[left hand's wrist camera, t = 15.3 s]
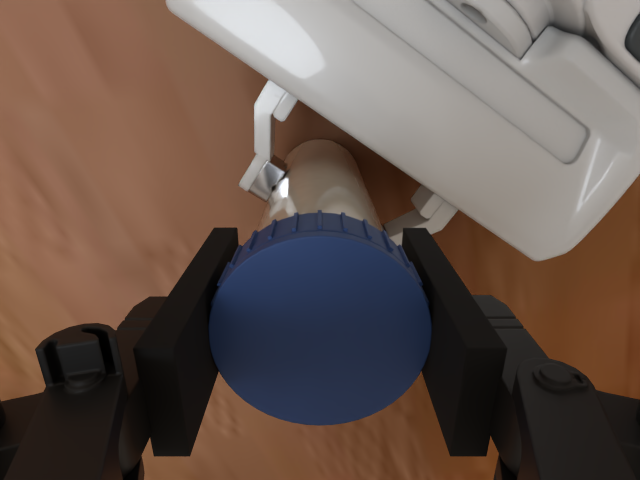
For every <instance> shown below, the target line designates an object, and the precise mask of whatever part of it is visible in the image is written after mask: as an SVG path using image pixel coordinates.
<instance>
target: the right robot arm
mask: <svg viewBox="0 0 640 480" xmlns="http://www.w3.org/2000/svg"><path fill="white" fill-rule="evenodd" d="M166 5H167V7H168V9H169V10H170V11H171V12H172V13H173V14H174V15H176V16H177V17H179V18H180V19H182V20H183V21H184V22H186V23H187V24H189V25H190V26H192V27H193V28H195V29H196V30H198V31H199V32H201V33H202V34H203V35H205V36H206V37H208V38H209V39H211V40H212V41H214V42H215V43H217V44H218V45H219V46H221V47H222V48H224V49H225V50H227V51H228V52H230V53H231V54H233V55H234V56H235V57H237V58H238V59H240V60H241V61H243V62H244V63H246V64H247V65H249V66H250V67H252V68H253V69H254V70H256V71H257V72H259V73H260V74H262V75H263V76H265V77H266V78H268V79H269V80H268V82H267V83H266V85H265V87H264V88H263V90H262V92H261V94H260V95H259V97H258V99H257V101H256V102H255V104H254V152H255V153H257V154H256V156H255V158H254V159H253V161H252V163H251V164H250V166H249V168H248V169H247V171H246V173H245V174H244V176H243V177H242V179H241V181H240V183H239V185H238V186H240V187H241V188H242V189H244V190H245V191H248V192H249V193H251V194H253V195H254V196H256V197H258V198H259V199H261V200H263V201H264V202H267V200H268V199H269V197H270V195H271V193H272V191H273V189H274V186H276V185H277V184H278V183H279V182H280V180H281V179H282V177H283V175H284V174H285V172H286V168H287V166H288V164H287V163H285V162H284V161H282V160H281V159H279V158H278V157H276V156H275V155H274V142H275V118H276V119H278V120H279V121H281V122H282V121H285V120H286V118H287V117H288V116H289V114H290V112H291V111H292V109H293V108H294V106H295V104H296V103H297V101H298V100H300V101H301V102H303V103H304V104H305V105H307V106H308V107H310V108H311V109H313V110H314V111H316V112H317V113H319V114H320V115H322V116H323V117H324V118H326V119H327V120H329V121H330V122H332V123H333V124H335V125H336V126H338V127H339V128H340V129H342V130H343V131H345V132H346V133H348V134H349V135H351V136H352V137H354V138H355V139H356V140H358V141H359V142H361V143H362V144H364V145H365V146H367V147H368V148H370V149H371V150H373V151H374V152H375V153H377V154H378V155H380V156H381V157H383V158H384V159H386V160H387V161H389V162H390V163H391V164H393V165H394V166H396V167H397V168H399V169H400V170H402V171H403V172H405V173H406V174H408V175H409V176H410V177H412V178H413V179H415V180H416V181H418V182H419V183H421V186H420V187H419V188H418V190H417V191H416V192H415V194H414V195H413V196H412V198H411V202H412V203H413V205H414V206H415V208H416V209H414V210H412V211H410V212H408V213H406V214H404V215H402V216H400V217H398V218H396V219H394V220H391V221H389V222H387V223H385V224H384V225H382V224H381V225H382V228H383V230H385V231H386V232H387V234H388V237H389V238H390V239H391V240H392V241H393V242H394V243H395V244H396V245H397V246H398V245H399V244H400V245H401V246H402V235H403V228H426V229H427V230H428V232H429V233H430V234H433V233H435V232H438V231H440V230H442V229H443V228H444V227H445V225H446V224H447V223H448V222H449V221H450V219H451V218H452V217H453V216H454V215H455V213H456V212H457V211H458V210H460V211H461V212H463V213H464V214H466V215H467V216H469V217H470V218H472V219H473V220H475V221H476V222H478V223H479V224H480V225H482V226H483V227H485V228H486V229H488V230H489V231H491V232H492V233H494V234H495V235H496V236H498V237H499V238H501V239H502V240H504V241H505V242H507V243H508V244H510V245H511V246H512V247H514V248H515V249H517V250H518V251H520V252H521V253H523V254H524V255H526V256H527V257H529V258H530V259H532V260H534V261H542V260H546V259H550V258H553V257H556V256H560V255H563V254H565V253H567V252H568V251H570V250H571V249H572V248H574V247H575V246H576V245H577V244H578V243H579V242H580V241H581V240H582V239H583V238H584V237H585V236H586V235H587V234H588V233H589V232H590V231H591V230H592V229H593V228H594V227H595V226H596V225H597V224H598V222H599V221H600V220H601V219H602V218H603V217H604V216H605V215H606V214H607V213H608V211H609V210H610V209H611V208H612V207H613V206H614V205H615V203H616V202H617V201H618V200H619V199H620V198H621V196H622V195H623V194H624V193H625V192H626V190H627V189H628V188H629V187H630V185H631V184H632V183H633V182H634V180H635V179H636V178H637V177H638V175H639V174H640V0H166ZM249 188H250V189H249Z"/></svg>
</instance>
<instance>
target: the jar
mask: <svg viewBox="0 0 640 480" xmlns="http://www.w3.org/2000/svg"><path fill="white" fill-rule="evenodd" d="M284 162H285V163H287V164H288V166H287V168H286V172H285V174H284V175H283V177H282V179H281V180H280V182H279V183H278V184H277V185H276V186H274V189H273V191H272V193H271V195H270V198H269V200H268V203H267V205H266V208H265V210H264V213H263V215H262V218H261V220H260V223H259V225H258V228H257V230H256V231H257V232H259V231H260V230H262V229H263V228H265V227H267V226H268V225H270V224H271V223H272V220H274V219H276V220H277V221H279V220H281V219H284V218H288V217H291V216H294V213H296V212H298V213H299V215H300V214H305V213H318V210H322V213H335V214H340V215H341V212H344V213H345V214H346V216H350V217H353V218H356V219H359V220H362V221H363V219H366V220H367V221H368V224H370V225H372V226H374V227H375V228H377V229H378V230H380V231H381V232H382V231H383V228H382V225H381V223H380V220H379V218H378V215H377V213H376V210H375V208H374V205H373V203H372V200H371V198H370V195H369V193H368V191H367V188H366V186H365V183H364V181H363V178H362V176H361V173H360V171H359V168H358V166H357V163H356V161H355V159H354V158H353V156H352V155H351V153H350V152H349V151H348V150H347V149H346V148H344V147H343V146H341V145H340V144H338V143H336V142H333V141H330V140H325V139H315V140H310V141H307V142H304V143H302V144H300V145H298V146H297V147H295V148H294V149H293V150H292V151H291V152H290V153H289V154H288V156H287V157H286V159H285V161H284Z"/></svg>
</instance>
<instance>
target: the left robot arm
mask: <svg viewBox="0 0 640 480" xmlns="http://www.w3.org/2000/svg"><path fill="white" fill-rule="evenodd" d="M238 246H239V245H238V232H237V228H214V229H213V230H212V232H211V233H210V235H209V236H208V238H207V239H206V241H205V242H204V244H203V245H202V247H201V248H200V250H199V251H198V253H197V254H196V256H195V257H194V259H193V260H192V261H191V263H190V264H189V266H188V267H187V269H186V270H185V272H184V273H183V275H182V276H181V278H180V279H179V281H178V282H177V284H176V285H175V287H174V288H173V290H172V291H171V293H170V294H169V296H168V297H148V298H147V299H145V300H144V301H142V302H140V303H139V304H137V305H136V306H134V307H133V309H132V310H131V311H130V312H129V314H128V315H127V316H126V317H125V321H122V323H121V324H120V325H119V326H118V328H117V330H114V329H113V328H111V327H110V326H109V325H104V324H99V323H92V324H81V325H77V326H73V327H69V328H66V329H64V330H61V331H59V332H56V333H54V334H53V335H51V336H49V337H48V338H46V339H45V340H43V341H42V342H41V343H40V344H39V345H38V347H37V348H36V349H35V351H36V354H37V357H38V361H39V364H40V367H41V371H42V374H43V378H44V381H45V384H46V388H45V390H44V392H42V393H38V394H35V395H30V396H25V397H20V398H16V399H11V400H6V401H1V400H0V480H144V466H143V461H142V456H141V455H142V453H143V451H144V449H145V446H146V444H147V442H148V440H149V438H150V439H151V444H152V449H153V454H154V456H190V455H191V452H192V449H193V446H194V443H195V440H196V437H197V434H198V431H199V428H200V425H201V422H202V419H203V416H204V413H205V410H206V407H207V404H208V401H209V398H210V395H211V392H212V389H213V386H214V384H215V381H216V378H217V375H218V372H219V370H218V368H217V366H216V364H215V362H214V359H213V356H212V353H211V349H210V342H209V333H208V323H209V316H210V311H211V308H212V306H211V301H212V299H213V297H214V295H215V293H216V291H217V289H218V286H217V284H218V282H219V280H220V278H221V276H222V273H223V271H224V269H225V267H226V265H227V263H228V262H230V263H231V261H232V258H233V256H234V254H235V252H236V250H237V248H238ZM402 248H403V250H404V252H405V254H406V256H407V258H408V261H409V262H411V261H412V263H413V265H414V267H415V269H416V271H417V273H418V275H419V277H420V279H421V281H422V283H423V285H422V288H423V290H424V292H425V294H426V296H427V299H428V301H429V306H428V307H429V310H430V314H431V322H432V335H431V344H430V350H429V354H428V357H427V359H426V362H425V365H424V367H423V368H422V370H421V371H422V374H423V377H424V380H425V383H426V386H427V389H428V392H429V395H430V398H431V401H432V404H433V407H434V409H435V412H436V415H437V418H438V421H439V424H440V427H441V430H442V433H443V436H444V439H445V442H446V445H447V448H448V451H449V454H450V456H486V455H487V450H488V445H489V440H490V435H491V437H492V439H493V442H494V444H495V446H496V448H497V450H498V452H499V456H498V461H497V465H496V470H495V475H494V480H640V400H638V399H634V398H629V397H624V396H619V395H615V394H610V393H605V392H601V391H598V390H596V389H595V387H594V385H593V384H592V383H591V381H590V380H589V379H588V377H587V376H585V375H584V374H583V373H581V372H580V371H579V370H577V369H576V368H574V367H572V366H569V365H567V364H565V363H563V362H560V361H556V360H552V359H549V358H548V357H547V356H546V354H545V353H544V352H543V350H542V349H541V348H540V347H539V345H538V344H537V343H536V342H535V340H534V339H533V338H532V337H531V335H530V334H529V333H528V332H527V330H526V329H523V325H522V324H521V323H520V322H519V320H518V319H516V317H515V315H514V314H513V313H512V312H511V310H510V309H509V308H508V307H507V305H505V304H504V303H502V302H501V301H499V300H497V299H496V298H494V297H493V296H491V295H471V294H470V292H469V291H468V289H467V288H466V286H465V285H464V283H463V282H462V280H461V279H460V277H459V276H458V274H457V273H456V271H455V270H454V268H453V267H452V266H451V264H450V263H449V261H448V260H447V258H446V257H445V255H444V254H443V252H442V251H441V249H440V248H439V246H438V245H437V243H436V242H435V240H434V239H433V237H432V236H431V234H430V233H429V232H428V230H427V229H426V228H403V235H402Z"/></svg>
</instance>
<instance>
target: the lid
mask: <svg viewBox="0 0 640 480" xmlns="http://www.w3.org/2000/svg"><path fill="white" fill-rule="evenodd" d="M422 285H423V283H422V281H421V279H420V277H419V275H418V273H417V271H416V269H415V267H414V265H413V263H412V261H411V262H409V261H408V258H407V256H406V254H405V252H404V250H403V248H402V246H401V245H400V244H399V245H398V246H397V245H396V244H395V243H394V242H393V241H392V240H391V239H390V238H389V237H388V234H387V232H386V231H385V230H383V231H382V232H381V231H380V230H378V229H377V228H375V227H374V226H372V225H370V224H368V221H367V220H366V219H363V221H362V220H359V219H356V218H353V217H350V216H346V214H345V213H344V212H341V215H340V214H335V213H322V210H318V213H305V214H300V215H299V213H298V212H296V213H294V216H291V217H288V218H284V219H281V220H279V221H277V220H276V219H274V220H272V223H271V224H270V225H268V226H267V227H265V228H263V229H262V230H260V231H259V232H257V231H256V230H255V231H254V232H253V234H252V236H251V238H250V239H249V240H248V241H247V242H246V243H245V244H244V245H243V246H241V245H239V246H238V248H237V250H236V252H235V254H234V256H233V258H232V261H231V263H230V262H228V263H227V265H226V267H225V269H224V271H223V273H222V276H221V278H220V280H219V282H218V284H217V286H218V289H217V291H216V293H215V295H214V297H213V299H212V301H211V306H212V308H211V311H210V316H209V323H208V333H209V342H210V349H211V353H212V356H213V359H214V362H215V364H216V366H217V368H218V370H219V372H220V374H221V375H222V377H223V378H224V380H225V381H226V383H227V384H228V385H229V386H230V387H231V388H232V389H233V391H234V392H235V393H236V394H237V395H239V396H240V397H241V398H242V399H243V400H245V401H246V402H247V403H249V404H250V405H252V406H253V407H255V408H256V409H258V410H260V411H262V412H264V413H266V414H268V415H271V416H273V417H276V418H278V419H281V420H285V421H289V422H293V423H299V424H305V425H335V424H341V423H347V422H351V421H355V420H359V419H362V418H364V417H367V416H370V415H372V414H374V413H376V412H378V411H380V410H382V409H384V408H385V407H387V406H388V405H390V404H391V403H393V402H394V401H395V400H397V399H398V398H399V397H400V396H402V395H403V394H404V393H405V392H406V391H407V389H408V388H409V387H410V386H411V385H412V384H413V383H414V381H415V380H416V378H417V377H418V376H419V374H420V372H421V370H422V368H423V367H424V365H425V362H426V359H427V357H428V354H429V350H430V344H431V335H432V322H431V314H430V310H429V307H428V306H429V301H428V299H427V296H426V294H425V292H424V290H423V288H422Z"/></svg>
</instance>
